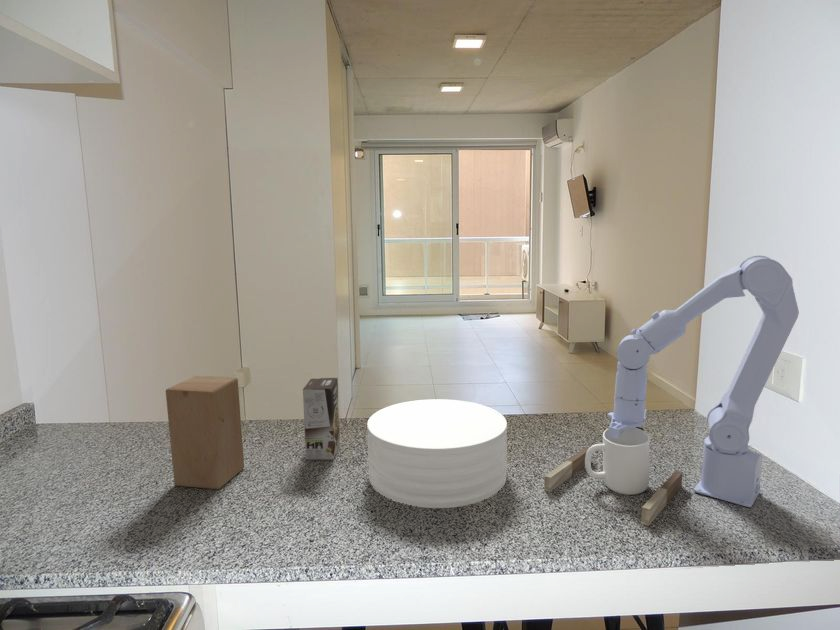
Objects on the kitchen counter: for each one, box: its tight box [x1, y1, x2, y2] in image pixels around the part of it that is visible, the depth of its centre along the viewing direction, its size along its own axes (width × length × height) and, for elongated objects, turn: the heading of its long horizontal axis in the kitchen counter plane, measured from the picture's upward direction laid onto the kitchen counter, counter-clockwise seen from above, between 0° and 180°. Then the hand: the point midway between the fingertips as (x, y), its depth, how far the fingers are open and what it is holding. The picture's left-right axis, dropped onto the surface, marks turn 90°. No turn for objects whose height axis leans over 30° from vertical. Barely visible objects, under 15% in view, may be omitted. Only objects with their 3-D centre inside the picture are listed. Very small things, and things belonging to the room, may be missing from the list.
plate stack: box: [366, 398, 508, 509], centre depth 113 cm, size 28×28×12 cm
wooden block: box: [165, 375, 245, 490], centre depth 112 cm, size 10×10×20 cm
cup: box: [584, 428, 651, 496], centre depth 106 cm, size 8×12×10 cm
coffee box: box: [302, 377, 341, 461], centre depth 124 cm, size 9×6×16 cm
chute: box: [543, 446, 684, 527], centre depth 105 cm, size 19×18×3 cm
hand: (625, 461), depth 111 cm, fingers closed, pressing on cup
